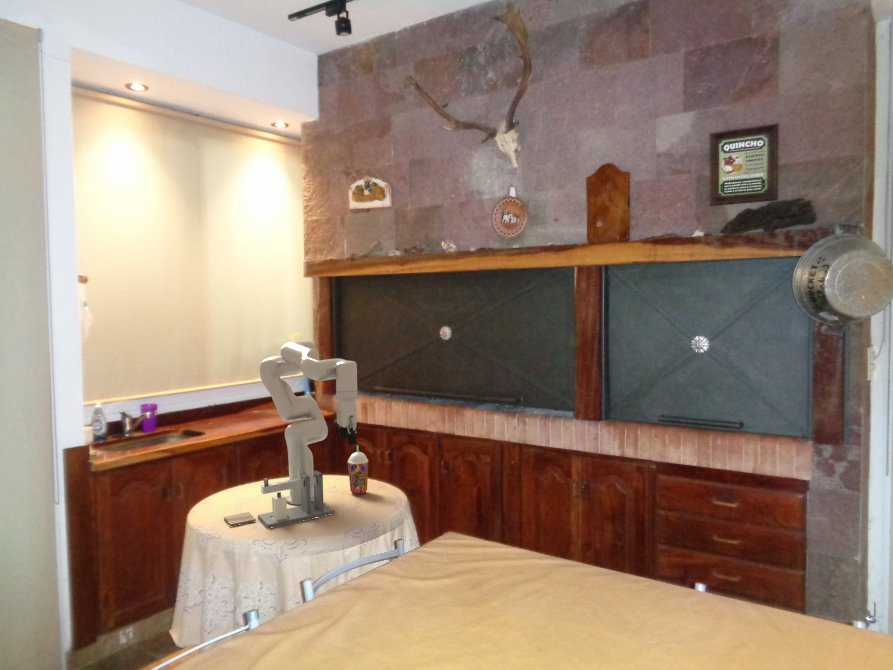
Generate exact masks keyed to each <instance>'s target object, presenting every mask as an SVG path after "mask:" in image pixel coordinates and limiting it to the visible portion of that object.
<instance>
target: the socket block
mask: <svg viewBox="0 0 893 670" xmlns="http://www.w3.org/2000/svg"><path fill="white" fill-rule="evenodd" d="M314 475H316V476H318V484H315V485H314V502H312V503H311V498H310V476H308V475H307V474H305V473H300V478H304V479H305V486H304V487H301V505H300V506H299V505H298V506H295V507H291V508H290V507H289V508H287V517H288V518H286V519H282V520H277V521H274V520H273V519H272V518H271V517H273V511H270V512H266V513H260V514H257V519H259V520H260V523H261V524H262V525H263V526H265V528H266V529H268V528H270V529H272V528H271V527H274V528H277V527H276V526H279V527H283V526H287V525H286V524H288V525H291V524H290V523H292V524H296V523H295V522H297V523H300V522H299V521H302V522H304V521H303V520H306V521H309V520H308V519H311V520H313V519H312V518H315V517H320V518H322V517H321V516H324V517H326V516H325V515H329V514H333V515H335V509H333V508H332V507H330V506H329V505H327V504H326V503H324V478H323V476H324V475H323V473H321V472H320V471H318V470H313V476H314ZM329 516H330V515H329ZM315 519H316V518H315ZM259 520H258V521H259ZM282 525H283V526H282Z"/></svg>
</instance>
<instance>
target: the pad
mask: <svg viewBox="0 0 893 670" xmlns="http://www.w3.org/2000/svg"><path fill="white" fill-rule="evenodd" d="M223 520H224V522H226V524H227V523H228V524H229V525H230V526H234V527H236V526H235V525H238V526H240V525H239V524H243V525H245V524H244V523H248V524H250V523H249V522H253V523H255V522H254V521H257V518H256V517H254V515H252V514H251V512H249V511H248V512H243V513H242V512H241V513H238V514H232V515H228V516H224V517H223ZM228 524H227V525H228ZM229 525H228V526H229ZM230 526H229V527H230Z"/></svg>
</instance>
